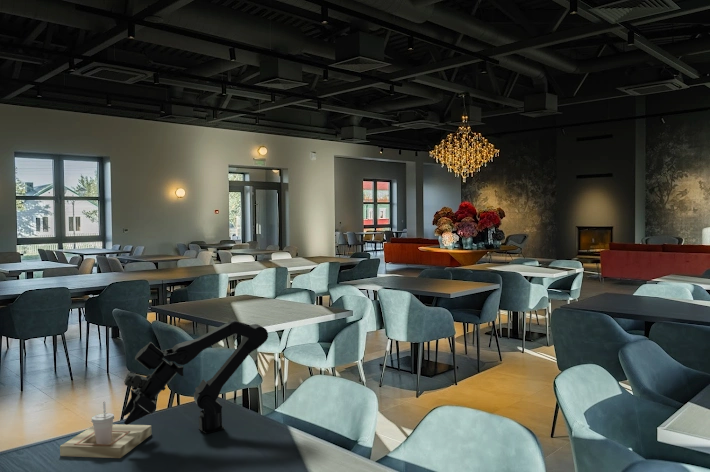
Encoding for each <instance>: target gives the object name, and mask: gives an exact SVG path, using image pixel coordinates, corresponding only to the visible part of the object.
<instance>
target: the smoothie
mask: <svg viewBox="0 0 710 472" xmlns="http://www.w3.org/2000/svg"><path fill="white" fill-rule="evenodd" d="M102 405H103V406H102V407H103V413H99V414H95V415H94V416H92V417H91V422H92V426H93V427H94V432H95V437H96V444H109V443H110V442H111V439H112V427H113V424H114V423H113V422H114V420H115V414H114V413H111V412H106V410H107V409H106V402H105V401H103V403H102Z"/></svg>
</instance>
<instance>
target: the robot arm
mask: <svg viewBox="0 0 710 472" xmlns="http://www.w3.org/2000/svg"><path fill="white" fill-rule="evenodd" d="M235 334H236V335H239V336H242V339H241V341H240V344H239V345H238V347H236V348H235V350H234V351H233V352H232V353H231V355H230V356H229V357H228V359H226V361H225V362H224V363H223V364H222V365H221V366H220V368H219V369H218V370H217V372H216V373H215V374H214V375H213V376H212V377H211V378H210V379H209V380H207V381H206V380H205V379H204V378H203V379H202V380H201V381H200V383H199V385H198V386H196V387H195V388H194V389H195V391H194V392H193V400H194V402H195V403H196V406H197V407H198V408H199V409H201V410H200V411H199V416H198V429H199V430H200V431H201V432H203V433H204V434H206V435H207V434H211V433H215V432H219V431H223V430H225V426H223V414H222V413H223V409H222V408H223V406H222V405H221V403H220V402H219V401H218V397H219V396H220V394H221V390H222V389H223V387H224V385H225V384H226V383H227V382H228V381H229V380H230V378H231V377H232V376H233V374H234V373H235V372H236V371H237V370H238V368H239V367H240V366H241V365H242V364H243V363H244V361H245V360H246V359H247V357H248V356H249V355H250V354H251V353H252V352H255V351H256V350H258V349H259V348H260V347H261V346H262V345H263V344H265V343H266V342H267V340H268V338H269V332H268V330H267V328H265V327H264V326H262V325H259V324H257V323H254V324H253V323H252V324H248V323H244V322H239V321H238V320H236V319H231V320H229V321H228V322H226V323H225V324H223V325H220V326H219V327H217V328H215V329H213V330H210V331H209V332H207V333H205V334H203V335H201V336H198V337H197V338H195V339H191V340H186V341H183V342H180V343H177V344H175V345H174V346H173V347H172V348H168V349H164V350H161V349H160V348H158V347H156V345H155V344H154V343H153V342H152V341H149V342H148V344H146V345H145V346H143V348H141V349H140V350H139V351H137V353H136V354H135V357H134V360H135V361H137V362H138V363H139V364H141V365H142V366H143V367H144V368H146V369H147V370H149V371H150V370H154V371H153V372H152V373H149V374H147V375H146V376H143V375H140V374H136V373H133V372H127V374H126V376H125V379H124V381H123V382H124V385H125V386H127V387H131V389H130V398H129V401H128V402H127V404H126V406H125V407H124V409H123V411H122V414H121V415H122V416H124V417H125V416H127V417H126V419H125V420H124V422H123V423H124V424H123V425H131V423H132V424H133V423H134V422H135V421H137V420H139V419H142V418H143V417H146V416H148V415H149V416H150V415H151V414H152V415H153V413H154V412H155V411H156V410H157V403H156V401H157V397H158V395H160V393H162V391H165V390H166V386H167V385H168V384H169V383H170V382H171V380H172V379H173V378H175V376H176V375H177V374H178V375H180V377H183V376H184V365H186V364H188V363H190V362H191V361H192V360H194V359H195V358H197V356H199V355H200V353H202V352H203V351H204V350H206V349H208V348H210V347H212V346H214V345H216V344H218V343H220V342H221V341H224V340H225V339H227V338H229V337H230V336H233V335H235ZM177 364H178V365H177ZM179 365H180V366H179Z"/></svg>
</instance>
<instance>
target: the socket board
mask: <svg viewBox="0 0 710 472" xmlns="http://www.w3.org/2000/svg"><path fill="white" fill-rule="evenodd" d="M152 432H153V431H152V425H149V424H128V425H126V424H117V423H116V424H114V423H113V427H112V439H111V442H110V443H109V444H97V443H96V437H95V432H94V427H93V425H92V426H91V427H89V428H87V429H86V430H84V431H82V432H81V433H79V434H77V435H75V436H74V437H73V438H71V439H69V440H68V441H66V442H64V443H62V444H61V445H59V454H60V455H59V456H60V457H75V458H76V457H80V458H107V459H121V458H123V457H124V456H125V455H127V454H128V453H129V452H131V451H132V450H133V449H134V448H136V447H137V446H138V445H140V444H141V443H142V442H144V441H145V440H146V439H148V438H149V437H151V436H152V434H153V433H152Z"/></svg>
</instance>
